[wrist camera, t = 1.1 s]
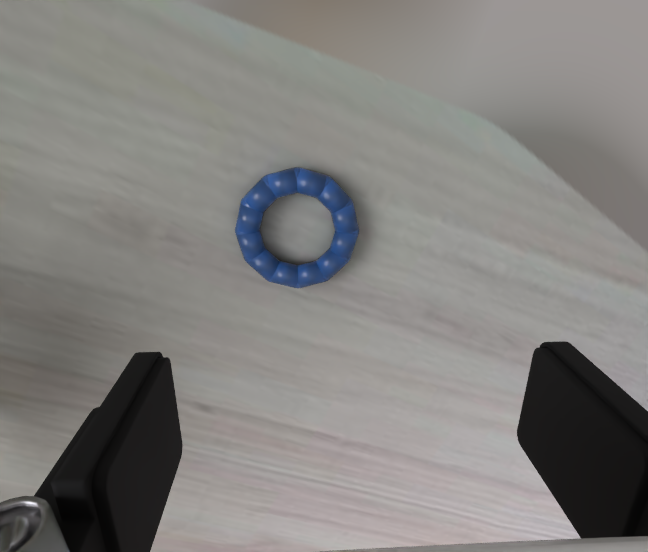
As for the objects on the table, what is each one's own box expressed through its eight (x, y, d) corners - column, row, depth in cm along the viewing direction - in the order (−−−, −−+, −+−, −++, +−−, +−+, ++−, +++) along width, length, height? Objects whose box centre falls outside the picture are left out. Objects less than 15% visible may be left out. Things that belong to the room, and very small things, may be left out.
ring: (296, 140, 25) (296, 143, 24) (379, 227, 27) (383, 233, 26) (213, 227, 26) (209, 233, 25) (298, 302, 29) (298, 311, 27)
